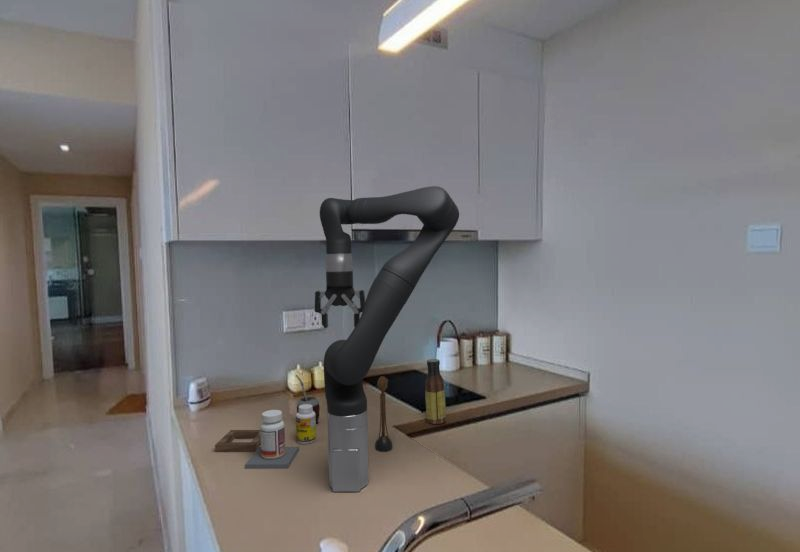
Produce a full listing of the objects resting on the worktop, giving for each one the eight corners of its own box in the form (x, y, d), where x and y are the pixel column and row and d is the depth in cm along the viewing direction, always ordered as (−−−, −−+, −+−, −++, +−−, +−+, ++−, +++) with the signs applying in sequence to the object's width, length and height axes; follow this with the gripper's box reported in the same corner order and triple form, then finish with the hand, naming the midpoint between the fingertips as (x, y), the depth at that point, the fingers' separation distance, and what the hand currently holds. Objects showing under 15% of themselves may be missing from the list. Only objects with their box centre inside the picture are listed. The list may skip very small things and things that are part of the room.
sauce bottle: (444, 418, 152) (443, 357, 151) (447, 424, 146) (446, 361, 145) (424, 418, 152) (423, 358, 151) (426, 425, 145) (425, 362, 145)
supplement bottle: (292, 442, 134) (291, 407, 133) (305, 436, 139) (304, 402, 138) (307, 446, 131) (306, 410, 131) (320, 439, 136) (319, 404, 136)
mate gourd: (318, 427, 145) (317, 379, 145) (292, 428, 145) (291, 380, 144) (321, 419, 153) (320, 374, 152) (296, 420, 152) (295, 374, 152)
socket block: (254, 451, 128) (254, 444, 128) (215, 452, 128) (215, 444, 128) (267, 436, 139) (267, 429, 139) (231, 436, 139) (230, 430, 139)
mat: (288, 468, 117) (288, 464, 117) (245, 468, 118) (244, 464, 118) (299, 450, 128) (299, 446, 128) (259, 450, 129) (259, 446, 129)
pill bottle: (280, 448, 127) (279, 407, 127) (288, 456, 122) (287, 413, 122) (258, 453, 124) (256, 411, 124) (265, 462, 119) (263, 418, 118)
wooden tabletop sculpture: (380, 442, 133) (379, 373, 132) (395, 444, 131) (394, 374, 130) (372, 450, 127) (371, 378, 126) (388, 452, 126) (387, 379, 125)
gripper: (365, 269, 135) (367, 324, 136) (317, 270, 136) (318, 325, 136) (363, 269, 128) (364, 328, 128) (311, 270, 128) (313, 329, 129)
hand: (340, 327), depth 132 cm, fingers open, 8 cm apart
